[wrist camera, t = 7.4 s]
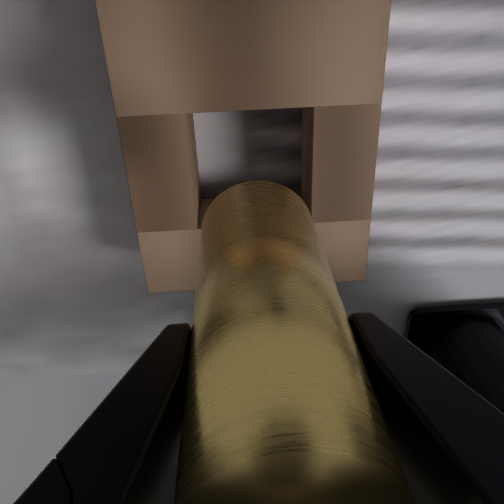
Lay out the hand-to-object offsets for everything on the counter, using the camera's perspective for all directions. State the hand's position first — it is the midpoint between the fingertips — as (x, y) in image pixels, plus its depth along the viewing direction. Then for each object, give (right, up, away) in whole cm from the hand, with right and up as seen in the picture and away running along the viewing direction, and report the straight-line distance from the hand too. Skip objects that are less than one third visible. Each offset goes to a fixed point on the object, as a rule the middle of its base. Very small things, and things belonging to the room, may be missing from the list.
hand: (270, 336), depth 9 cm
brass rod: (0, +2, +4) cm, 4 cm away
